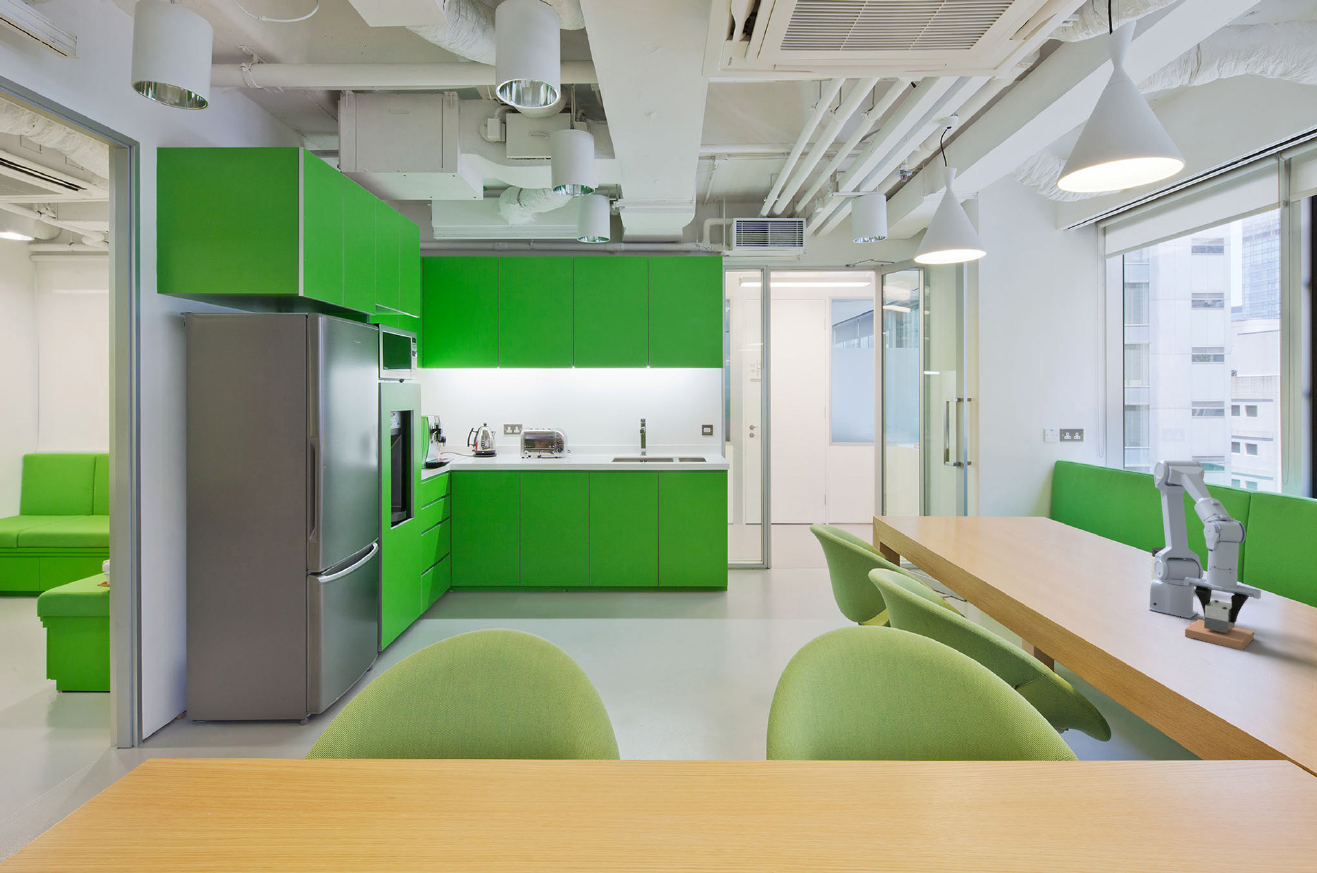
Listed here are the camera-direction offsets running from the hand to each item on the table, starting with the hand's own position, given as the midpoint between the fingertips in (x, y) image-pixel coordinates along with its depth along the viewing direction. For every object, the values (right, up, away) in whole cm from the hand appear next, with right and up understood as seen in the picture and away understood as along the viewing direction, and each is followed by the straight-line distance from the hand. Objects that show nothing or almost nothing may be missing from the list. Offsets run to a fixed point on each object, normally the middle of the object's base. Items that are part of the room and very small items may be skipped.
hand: (1220, 619), depth 160 cm
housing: (0, -2, 0) cm, 2 cm away
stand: (0, -5, 0) cm, 5 cm away
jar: (+23, -3, +45) cm, 51 cm away
